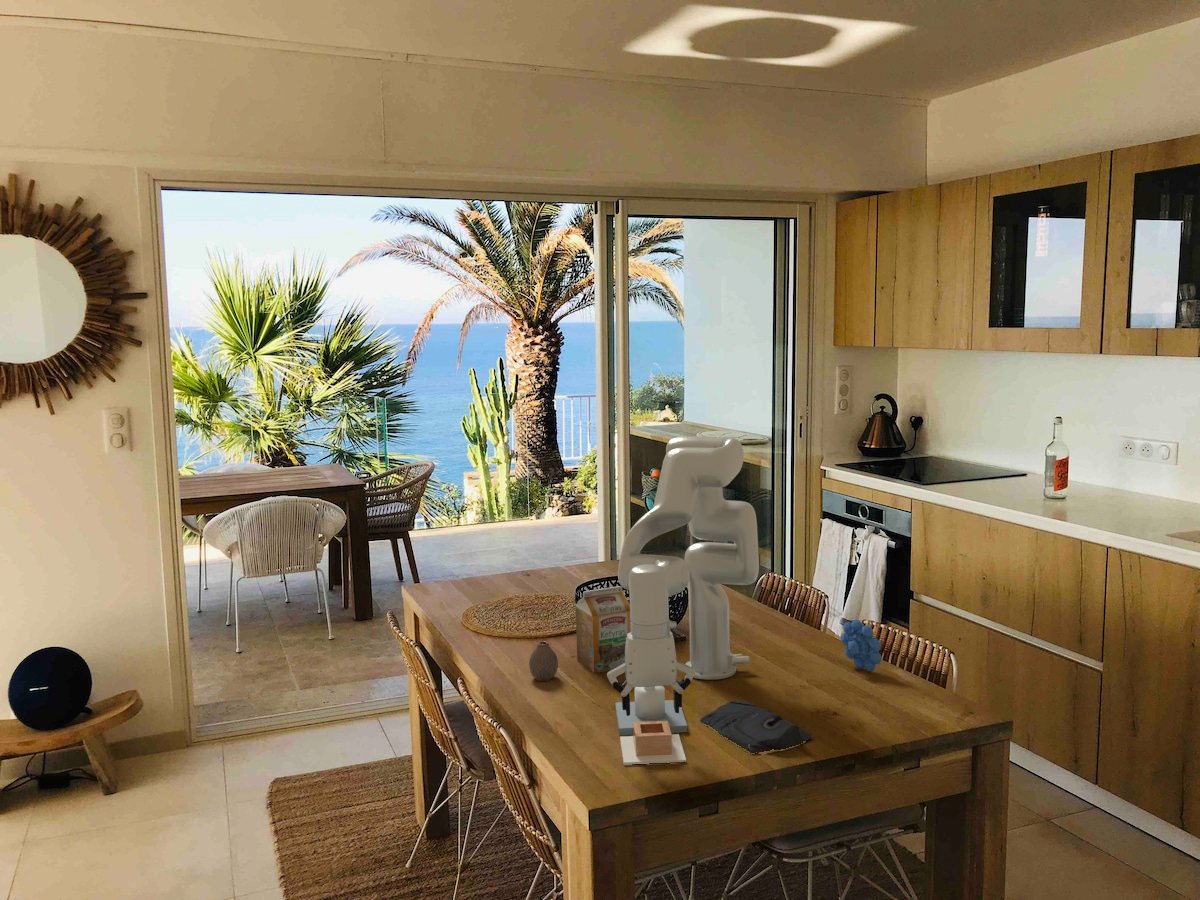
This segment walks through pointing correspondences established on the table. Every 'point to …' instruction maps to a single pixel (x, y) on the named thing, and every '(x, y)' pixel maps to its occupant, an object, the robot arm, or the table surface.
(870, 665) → the grapes
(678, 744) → the white mat
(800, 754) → the table surface
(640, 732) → the copper link
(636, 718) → the post stand
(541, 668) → the vase
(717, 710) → the dark pouch with grommet
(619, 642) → the milk carton
